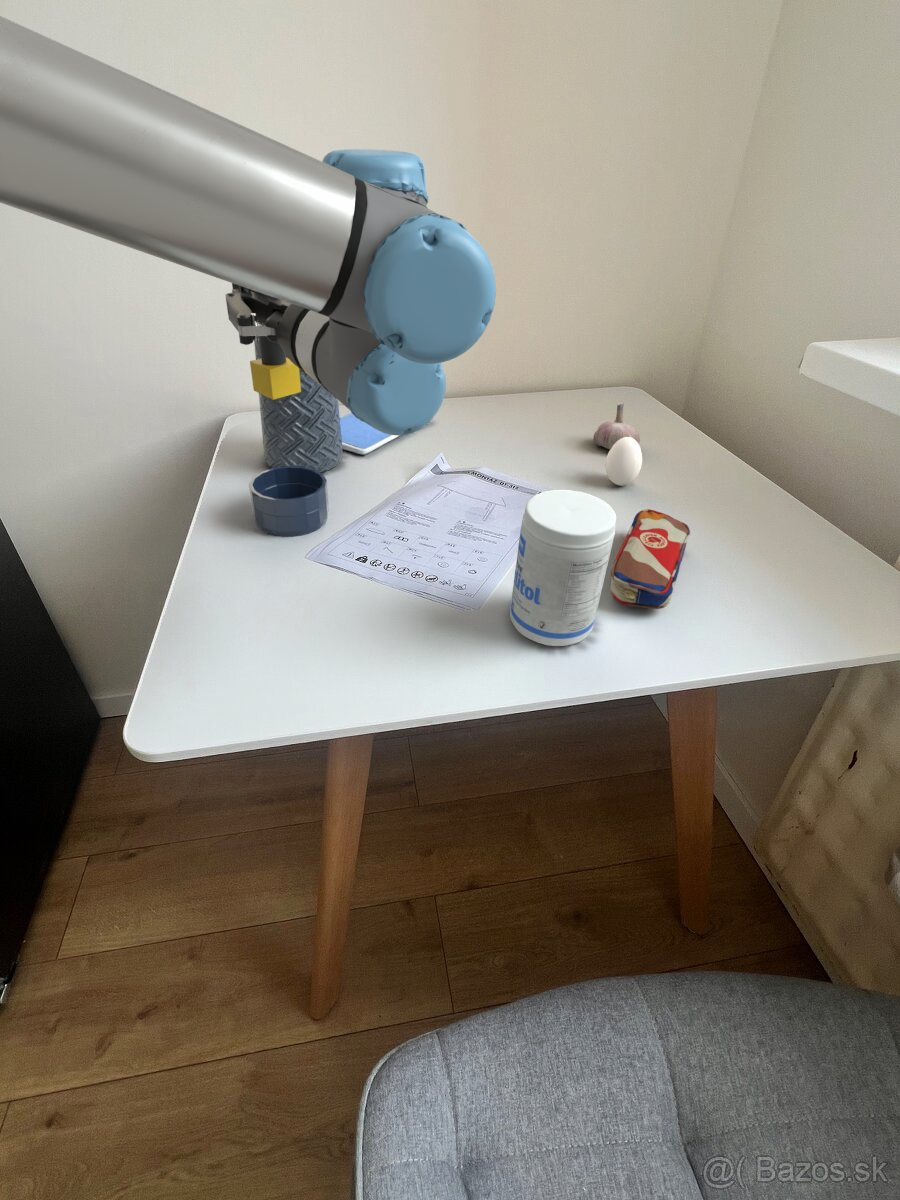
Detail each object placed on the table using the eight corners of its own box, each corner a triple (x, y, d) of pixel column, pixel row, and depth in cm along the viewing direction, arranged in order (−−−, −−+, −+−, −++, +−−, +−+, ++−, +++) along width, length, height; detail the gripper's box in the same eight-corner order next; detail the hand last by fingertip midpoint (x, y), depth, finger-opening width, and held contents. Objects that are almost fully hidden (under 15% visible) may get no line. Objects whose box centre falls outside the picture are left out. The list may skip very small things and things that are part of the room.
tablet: (364, 457, 112) (364, 450, 112) (307, 437, 118) (306, 430, 117) (433, 422, 125) (434, 415, 125) (379, 405, 131) (378, 398, 130)
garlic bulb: (584, 443, 120) (591, 398, 116) (616, 436, 123) (625, 392, 119) (612, 460, 115) (621, 414, 110) (645, 453, 118) (656, 407, 113)
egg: (626, 474, 111) (635, 429, 107) (643, 490, 107) (653, 443, 103) (596, 478, 110) (604, 432, 105) (612, 493, 106) (621, 446, 101)
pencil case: (715, 557, 92) (726, 524, 89) (653, 627, 79) (663, 592, 76) (639, 528, 97) (646, 497, 94) (569, 590, 85) (575, 556, 82)
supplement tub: (492, 613, 80) (503, 500, 72) (555, 589, 85) (573, 480, 76) (546, 661, 74) (565, 543, 65) (611, 633, 78) (637, 518, 70)
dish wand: (253, 390, 83) (233, 241, 73) (281, 383, 85) (266, 237, 76) (272, 400, 81) (255, 247, 71) (301, 392, 83) (287, 243, 74)
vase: (346, 474, 107) (335, 276, 91) (265, 478, 105) (239, 276, 88) (339, 442, 117) (329, 257, 100) (265, 445, 115) (241, 257, 98)
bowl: (240, 517, 96) (234, 480, 92) (300, 494, 102) (296, 459, 98) (283, 545, 90) (278, 508, 87) (343, 519, 96) (341, 483, 93)
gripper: (253, 395, 63) (186, 327, 79) (407, 371, 70) (317, 313, 86) (241, 308, 59) (173, 255, 75) (407, 291, 66) (313, 246, 82)
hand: (251, 286), depth 80 cm, fingers closed on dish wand, 3 cm apart
